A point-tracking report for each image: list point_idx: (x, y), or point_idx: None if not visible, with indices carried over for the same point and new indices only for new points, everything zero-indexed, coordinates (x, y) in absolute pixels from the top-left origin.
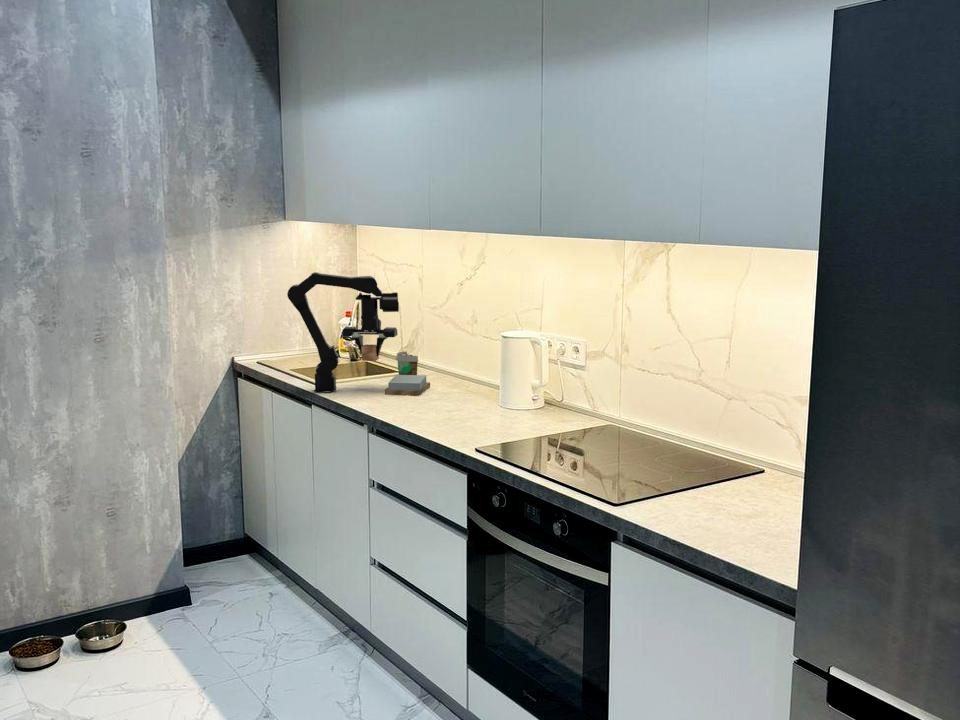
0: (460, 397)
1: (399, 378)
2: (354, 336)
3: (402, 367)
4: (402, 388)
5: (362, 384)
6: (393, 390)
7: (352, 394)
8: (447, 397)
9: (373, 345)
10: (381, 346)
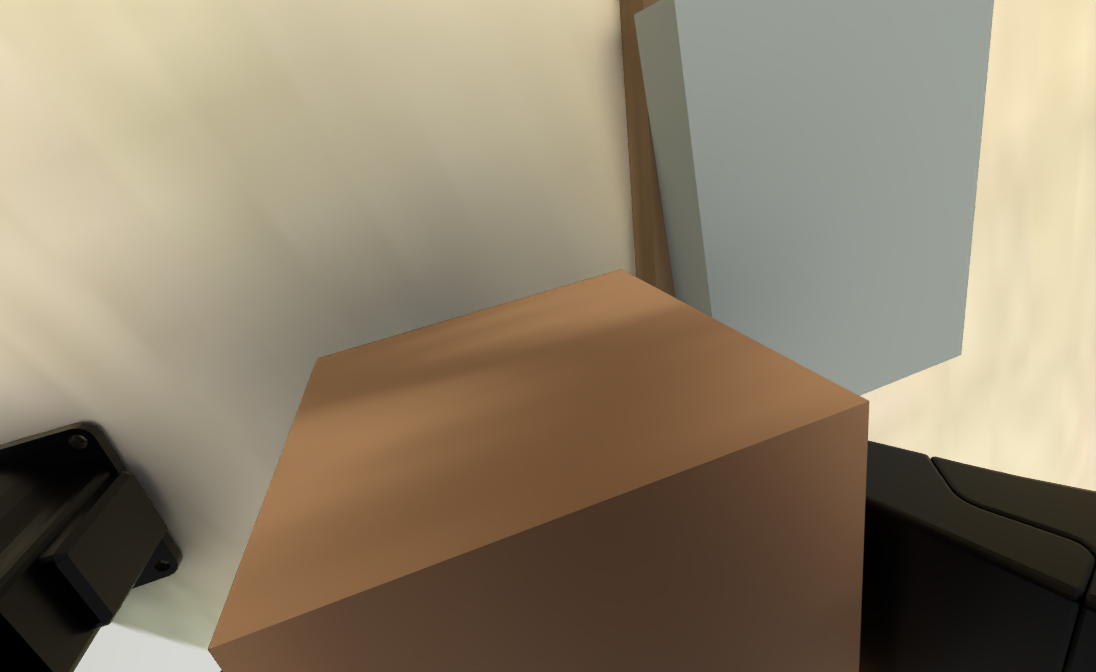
0: (1091, 275)
1: (770, 223)
2: None
3: None
4: None
5: (177, 36)
6: None
7: None
8: (1027, 307)
9: (729, 630)
10: (946, 468)
